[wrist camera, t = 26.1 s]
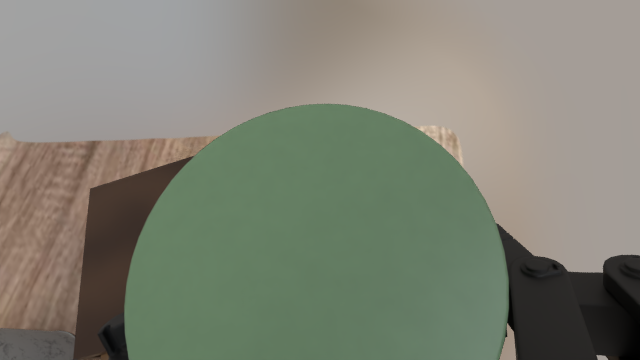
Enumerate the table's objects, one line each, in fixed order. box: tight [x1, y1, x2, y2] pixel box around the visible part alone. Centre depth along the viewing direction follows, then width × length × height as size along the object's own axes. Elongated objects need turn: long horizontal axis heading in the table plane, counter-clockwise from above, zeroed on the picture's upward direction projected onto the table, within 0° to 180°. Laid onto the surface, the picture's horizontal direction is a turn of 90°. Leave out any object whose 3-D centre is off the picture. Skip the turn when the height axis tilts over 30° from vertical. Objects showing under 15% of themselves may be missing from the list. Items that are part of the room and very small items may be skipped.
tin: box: [124, 104, 509, 360], centre depth 12 cm, size 8×8×12 cm
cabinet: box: [73, 156, 194, 360], centre depth 34 cm, size 16×14×10 cm
